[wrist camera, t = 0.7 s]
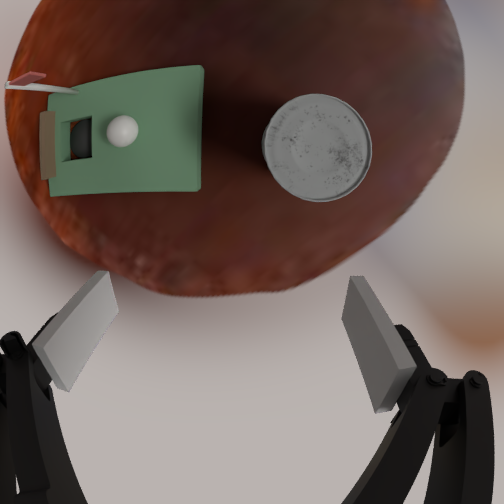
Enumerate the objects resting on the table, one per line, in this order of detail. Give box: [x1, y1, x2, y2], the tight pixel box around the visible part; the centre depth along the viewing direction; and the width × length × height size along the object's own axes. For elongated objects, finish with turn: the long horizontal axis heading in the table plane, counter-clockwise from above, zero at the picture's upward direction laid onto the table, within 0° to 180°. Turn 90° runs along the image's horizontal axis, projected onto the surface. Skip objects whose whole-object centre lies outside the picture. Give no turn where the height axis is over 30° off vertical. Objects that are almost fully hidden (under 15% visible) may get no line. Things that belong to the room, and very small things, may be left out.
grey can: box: [262, 94, 372, 202], centre depth 27 cm, size 10×10×12 cm
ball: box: [107, 115, 138, 147], centre depth 28 cm, size 4×4×4 cm
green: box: [5, 65, 204, 197], centre depth 25 cm, size 16×24×16 cm, turn 88°
